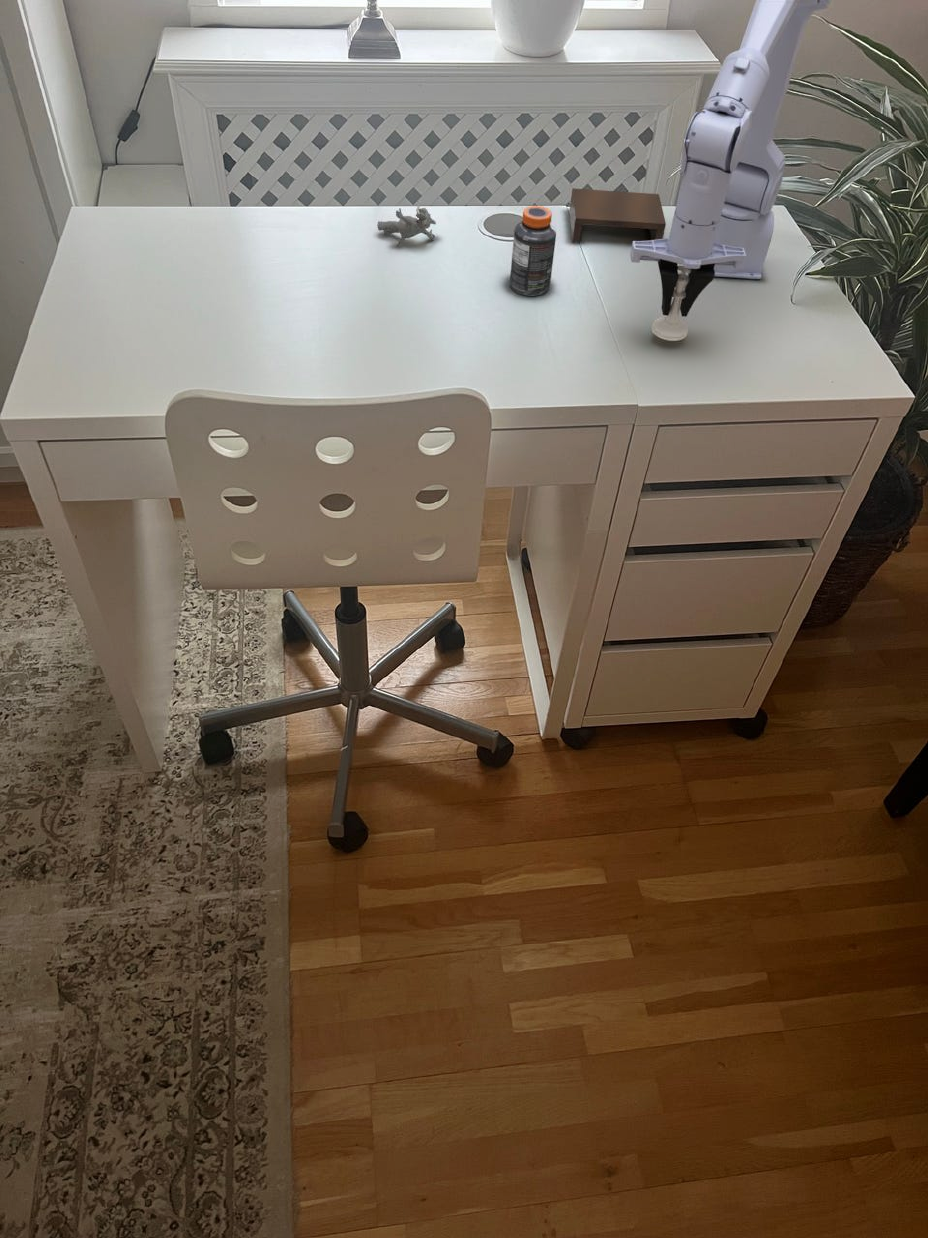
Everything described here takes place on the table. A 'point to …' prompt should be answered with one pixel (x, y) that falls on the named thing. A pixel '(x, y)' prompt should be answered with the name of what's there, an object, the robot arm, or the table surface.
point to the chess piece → (674, 312)
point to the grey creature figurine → (409, 225)
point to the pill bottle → (533, 252)
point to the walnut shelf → (616, 211)
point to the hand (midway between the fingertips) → (673, 311)
